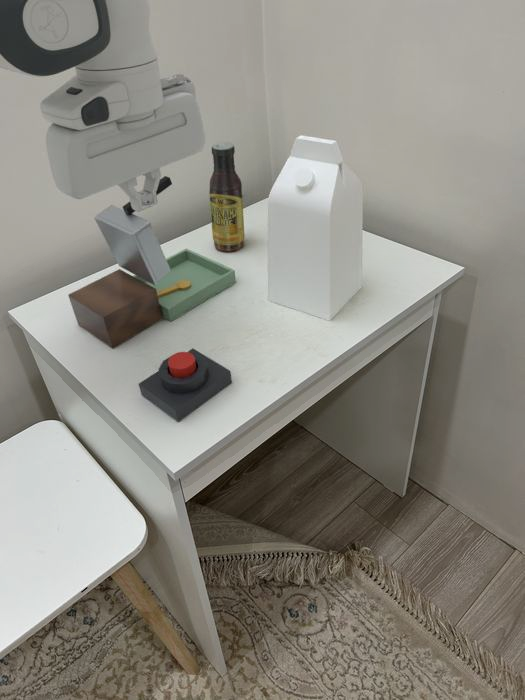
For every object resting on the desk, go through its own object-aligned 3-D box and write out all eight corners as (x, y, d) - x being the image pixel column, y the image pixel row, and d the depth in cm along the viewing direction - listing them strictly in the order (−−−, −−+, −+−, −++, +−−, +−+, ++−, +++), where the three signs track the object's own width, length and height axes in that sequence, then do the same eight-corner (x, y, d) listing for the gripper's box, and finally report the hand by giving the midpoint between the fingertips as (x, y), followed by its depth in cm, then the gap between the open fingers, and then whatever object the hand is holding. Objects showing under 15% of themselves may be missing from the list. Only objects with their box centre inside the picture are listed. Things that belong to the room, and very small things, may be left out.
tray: (170, 321, 90) (168, 309, 88) (123, 294, 97) (120, 282, 95) (236, 282, 98) (234, 270, 96) (188, 259, 105) (186, 248, 104)
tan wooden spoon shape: (193, 284, 96) (193, 287, 96) (186, 278, 98) (187, 281, 98) (159, 297, 93) (159, 300, 94) (152, 290, 95) (153, 293, 96)
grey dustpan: (128, 228, 78) (188, 183, 83) (90, 210, 83) (148, 169, 88) (155, 285, 86) (208, 242, 91) (119, 266, 92) (170, 226, 96)
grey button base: (178, 422, 72) (173, 400, 69) (141, 395, 76) (135, 373, 74) (232, 382, 77) (229, 360, 75) (194, 359, 82) (191, 338, 79)
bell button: (181, 382, 73) (179, 372, 71) (164, 370, 75) (162, 361, 73) (201, 368, 74) (200, 358, 73) (184, 357, 76) (182, 348, 75)
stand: (112, 348, 85) (103, 317, 81) (78, 324, 90) (67, 294, 87) (162, 319, 90) (156, 288, 86) (127, 298, 96) (119, 268, 92)
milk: (362, 286, 94) (372, 132, 78) (329, 320, 87) (334, 159, 71) (302, 269, 100) (300, 122, 83) (267, 300, 93) (258, 146, 76)
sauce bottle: (209, 251, 107) (196, 150, 94) (220, 236, 112) (209, 138, 99) (240, 255, 105) (231, 152, 93) (250, 239, 110) (243, 139, 97)
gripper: (174, 67, 68) (189, 175, 77) (25, 108, 57) (62, 229, 65) (209, 73, 65) (220, 186, 73) (57, 117, 53) (92, 244, 62)
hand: (145, 207), depth 69 cm, fingers closed
